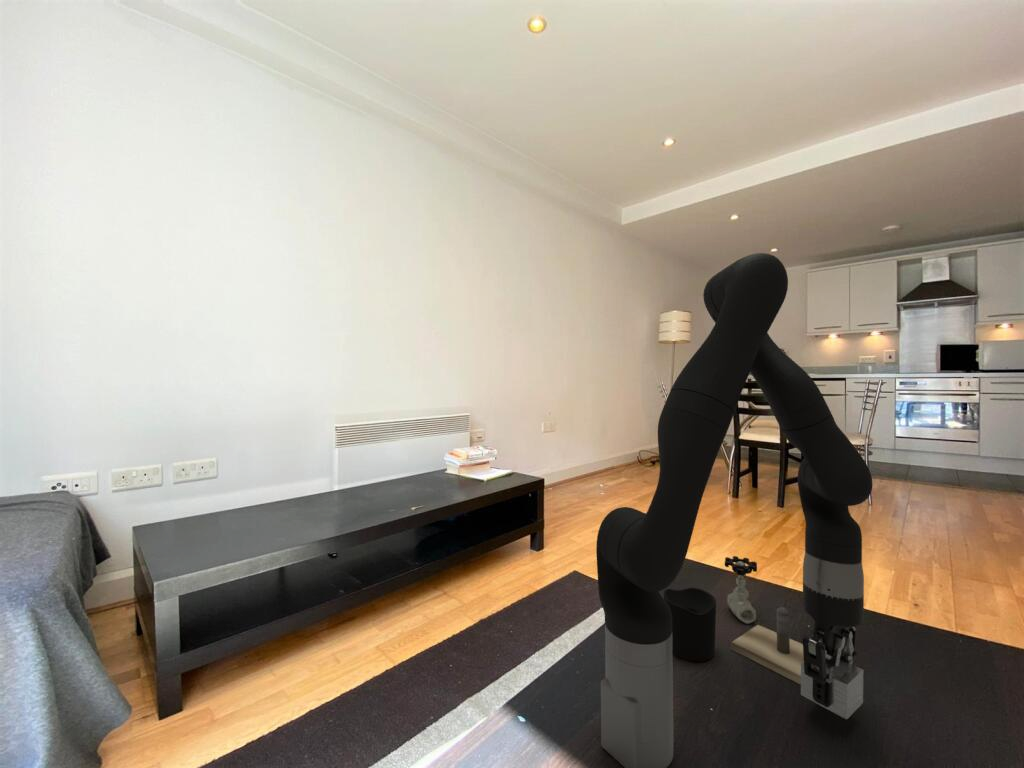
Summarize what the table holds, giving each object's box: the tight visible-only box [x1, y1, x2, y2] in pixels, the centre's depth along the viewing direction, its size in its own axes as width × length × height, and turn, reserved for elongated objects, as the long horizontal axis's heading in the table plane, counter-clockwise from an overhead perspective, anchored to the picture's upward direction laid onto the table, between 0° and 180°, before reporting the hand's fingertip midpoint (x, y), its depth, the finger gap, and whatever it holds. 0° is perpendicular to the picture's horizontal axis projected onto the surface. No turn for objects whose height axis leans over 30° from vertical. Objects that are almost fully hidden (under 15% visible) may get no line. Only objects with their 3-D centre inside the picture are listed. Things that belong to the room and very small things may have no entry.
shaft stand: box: [731, 606, 804, 686], centre depth 82 cm, size 10×14×10 cm
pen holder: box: [662, 587, 717, 663], centre depth 85 cm, size 9×9×10 cm
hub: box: [800, 654, 864, 720], centre depth 67 cm, size 6×6×5 cm
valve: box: [724, 555, 758, 625], centre depth 96 cm, size 7×7×12 cm
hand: (831, 694), depth 67 cm, fingers closed on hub, 6 cm apart
